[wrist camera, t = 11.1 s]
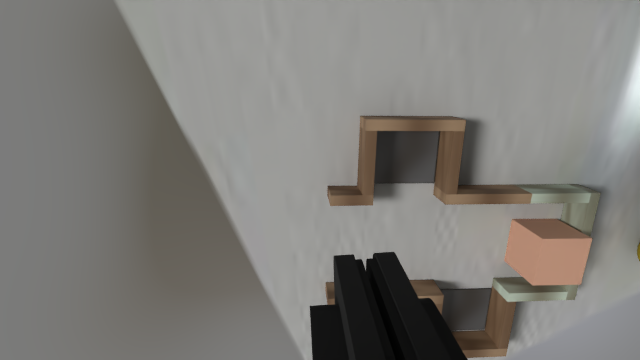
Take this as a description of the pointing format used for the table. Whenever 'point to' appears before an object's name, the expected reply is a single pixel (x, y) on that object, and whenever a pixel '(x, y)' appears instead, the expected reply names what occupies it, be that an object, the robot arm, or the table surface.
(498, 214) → the table surface
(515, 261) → the block
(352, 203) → the wooden zigzag frame
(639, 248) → the lemon
